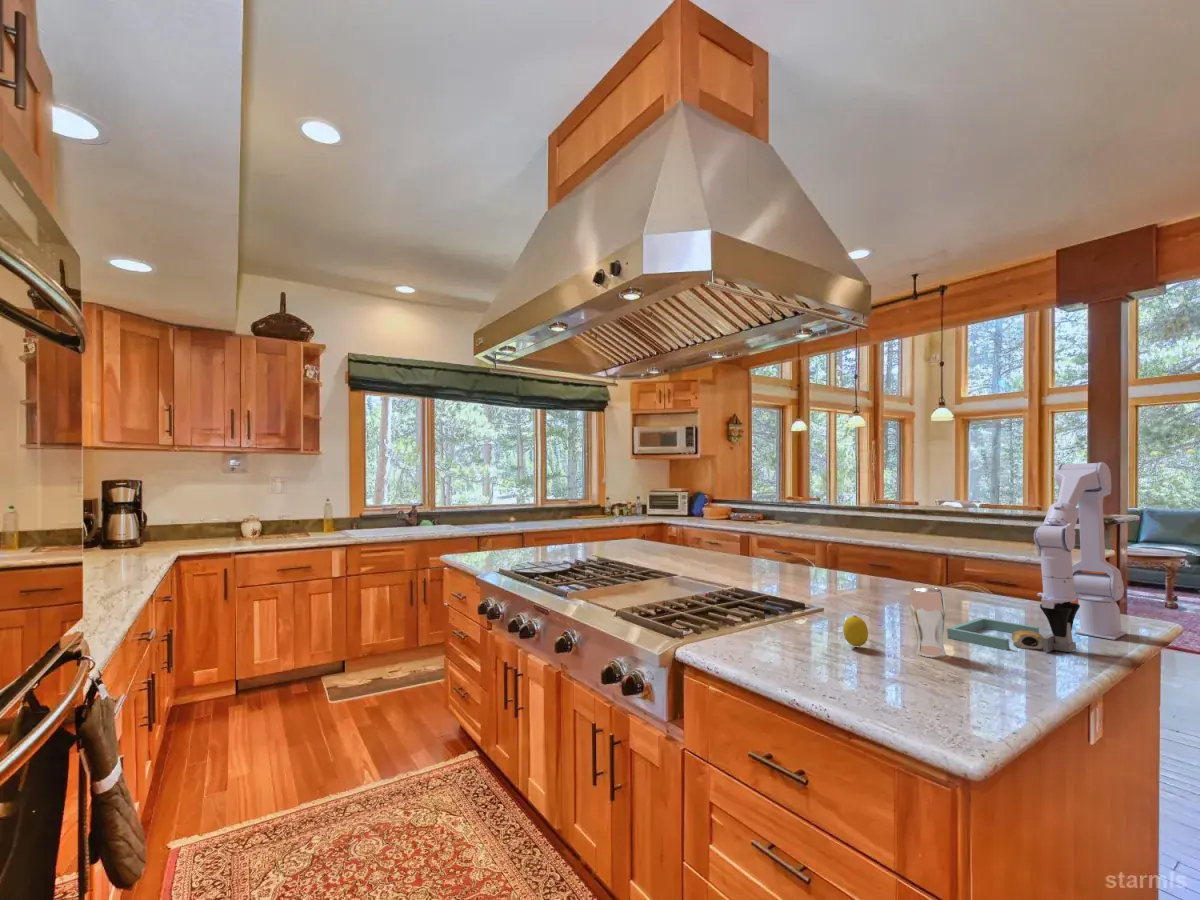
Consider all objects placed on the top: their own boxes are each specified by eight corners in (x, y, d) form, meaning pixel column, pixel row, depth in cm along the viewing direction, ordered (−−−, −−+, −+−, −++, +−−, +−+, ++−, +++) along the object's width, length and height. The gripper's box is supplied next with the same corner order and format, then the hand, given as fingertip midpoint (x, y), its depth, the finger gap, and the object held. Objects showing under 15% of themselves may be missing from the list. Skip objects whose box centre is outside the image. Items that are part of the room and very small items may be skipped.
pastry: (1009, 638, 140) (1008, 623, 140) (1043, 642, 136) (1042, 626, 136) (1013, 648, 132) (1012, 632, 132) (1049, 652, 128) (1048, 636, 128)
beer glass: (945, 651, 130) (941, 587, 131) (950, 660, 124) (945, 593, 125) (912, 648, 133) (908, 586, 134) (915, 657, 127) (910, 591, 128)
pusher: (1060, 643, 133) (1056, 618, 133) (1081, 646, 129) (1077, 620, 130) (1043, 651, 127) (1040, 624, 128) (1064, 654, 124) (1061, 627, 125)
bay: (981, 626, 151) (980, 617, 151) (1039, 636, 140) (1038, 627, 140) (947, 637, 141) (947, 628, 141) (1007, 650, 130) (1006, 639, 130)
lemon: (871, 652, 131) (869, 618, 132) (847, 651, 132) (845, 617, 133) (865, 645, 137) (863, 612, 137) (841, 644, 138) (840, 612, 138)
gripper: (1048, 571, 137) (1053, 626, 136) (1024, 578, 129) (1028, 636, 128) (1085, 574, 131) (1090, 632, 130) (1061, 582, 123) (1066, 643, 122)
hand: (1062, 635), depth 128 cm, fingers closed on pusher, 2 cm apart
